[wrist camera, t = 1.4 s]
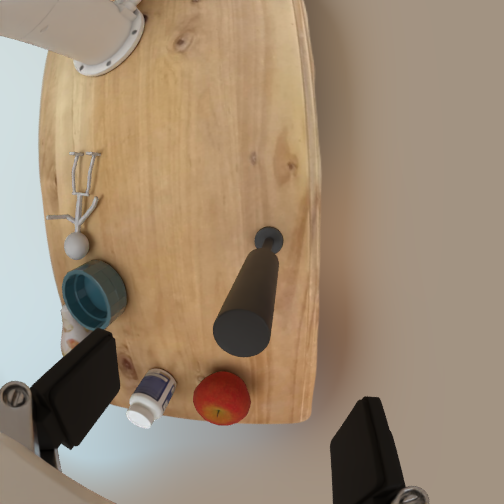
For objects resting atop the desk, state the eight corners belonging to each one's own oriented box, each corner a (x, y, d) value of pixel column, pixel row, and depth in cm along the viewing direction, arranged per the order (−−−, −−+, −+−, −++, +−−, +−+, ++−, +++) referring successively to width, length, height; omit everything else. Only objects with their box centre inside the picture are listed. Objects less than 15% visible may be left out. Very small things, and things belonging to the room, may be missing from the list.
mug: (87, 291, 37) (73, 345, 30) (110, 326, 44) (104, 375, 37) (53, 295, 37) (37, 345, 29) (78, 328, 43) (69, 374, 36)
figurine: (83, 149, 26) (74, 271, 29) (111, 154, 32) (101, 261, 35) (52, 150, 27) (45, 261, 30) (80, 154, 32) (72, 253, 36)
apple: (205, 355, 37) (189, 391, 30) (258, 369, 37) (252, 408, 29) (200, 390, 39) (185, 424, 32) (248, 402, 39) (240, 439, 31)
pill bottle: (141, 370, 40) (114, 408, 31) (164, 364, 39) (138, 405, 30) (159, 393, 41) (137, 432, 32) (183, 388, 40) (162, 431, 31)
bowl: (94, 245, 35) (73, 255, 30) (139, 290, 36) (121, 305, 31) (75, 286, 37) (55, 298, 33) (114, 326, 38) (97, 342, 33)
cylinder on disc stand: (268, 220, 31) (237, 292, 12) (288, 239, 31) (288, 335, 12) (249, 240, 32) (196, 333, 13) (269, 259, 32) (244, 370, 13)
